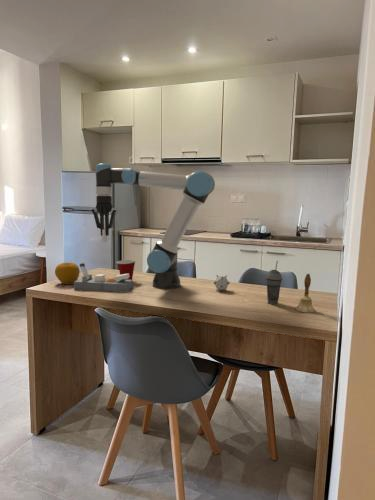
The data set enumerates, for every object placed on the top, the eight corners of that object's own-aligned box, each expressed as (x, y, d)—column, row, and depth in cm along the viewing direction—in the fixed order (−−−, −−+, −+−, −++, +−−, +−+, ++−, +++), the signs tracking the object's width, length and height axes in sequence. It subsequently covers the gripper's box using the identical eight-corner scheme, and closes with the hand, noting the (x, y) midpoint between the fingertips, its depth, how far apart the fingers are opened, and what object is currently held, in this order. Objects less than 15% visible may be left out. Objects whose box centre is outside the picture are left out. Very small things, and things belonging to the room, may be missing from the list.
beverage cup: (269, 300, 171) (271, 258, 168) (283, 303, 167) (285, 260, 164) (261, 303, 166) (263, 260, 163) (276, 306, 161) (278, 262, 158)
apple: (66, 287, 190) (65, 266, 188) (50, 284, 196) (49, 263, 195) (85, 282, 201) (84, 262, 199) (69, 279, 207) (68, 260, 206)
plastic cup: (119, 279, 210) (118, 258, 209) (137, 279, 210) (137, 259, 208) (114, 283, 200) (114, 262, 198) (133, 284, 199) (133, 262, 197)
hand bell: (305, 306, 162) (307, 271, 160) (319, 311, 155) (322, 275, 153) (291, 308, 158) (293, 273, 156) (305, 314, 151) (307, 276, 149)
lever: (91, 278, 191) (85, 261, 190) (88, 280, 187) (81, 263, 186) (87, 279, 192) (81, 263, 191) (83, 281, 187) (77, 264, 186)
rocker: (129, 276, 188) (128, 273, 188) (127, 278, 184) (126, 274, 184) (118, 278, 189) (117, 275, 189) (115, 280, 185) (114, 276, 185)
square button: (104, 282, 190) (104, 274, 190) (102, 283, 187) (102, 275, 186) (97, 281, 191) (97, 274, 190) (95, 283, 187) (95, 275, 186)
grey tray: (132, 287, 192) (132, 275, 191) (127, 291, 182) (127, 279, 181) (82, 284, 195) (81, 273, 195) (74, 289, 186) (73, 277, 185)
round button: (115, 285, 190) (115, 277, 189) (113, 287, 186) (113, 279, 186) (108, 285, 190) (108, 277, 190) (106, 286, 187) (106, 278, 186)
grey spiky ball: (217, 297, 188) (207, 280, 191) (230, 290, 192) (220, 274, 194) (222, 293, 180) (212, 275, 182) (236, 285, 184) (225, 268, 186)
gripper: (118, 195, 185) (119, 241, 188) (94, 195, 186) (95, 240, 190) (114, 195, 177) (114, 243, 181) (88, 195, 179) (89, 242, 182)
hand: (104, 241), depth 185 cm, fingers closed
